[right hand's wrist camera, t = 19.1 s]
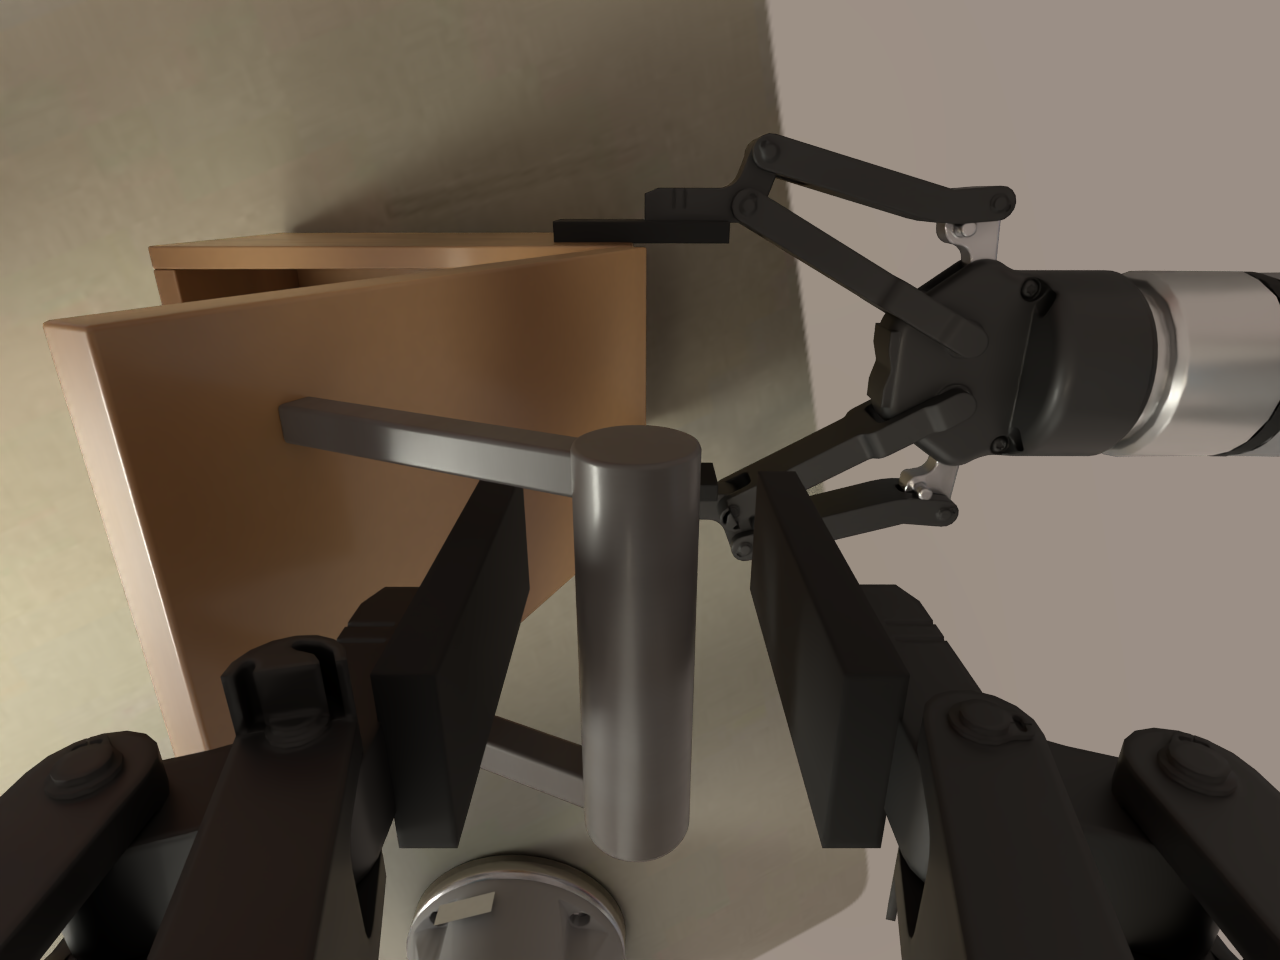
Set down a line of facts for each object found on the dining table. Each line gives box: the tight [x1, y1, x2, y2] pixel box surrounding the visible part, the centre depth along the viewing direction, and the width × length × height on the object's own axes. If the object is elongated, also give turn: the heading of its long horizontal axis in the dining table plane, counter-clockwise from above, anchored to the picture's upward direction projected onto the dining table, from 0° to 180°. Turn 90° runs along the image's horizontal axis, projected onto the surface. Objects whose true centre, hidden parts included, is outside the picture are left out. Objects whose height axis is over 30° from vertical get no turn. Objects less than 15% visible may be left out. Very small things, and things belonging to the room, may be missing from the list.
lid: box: [43, 246, 701, 862], centre depth 17 cm, size 17×10×8 cm
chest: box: [148, 232, 633, 305], centre depth 31 cm, size 17×10×10 cm, turn 90°
